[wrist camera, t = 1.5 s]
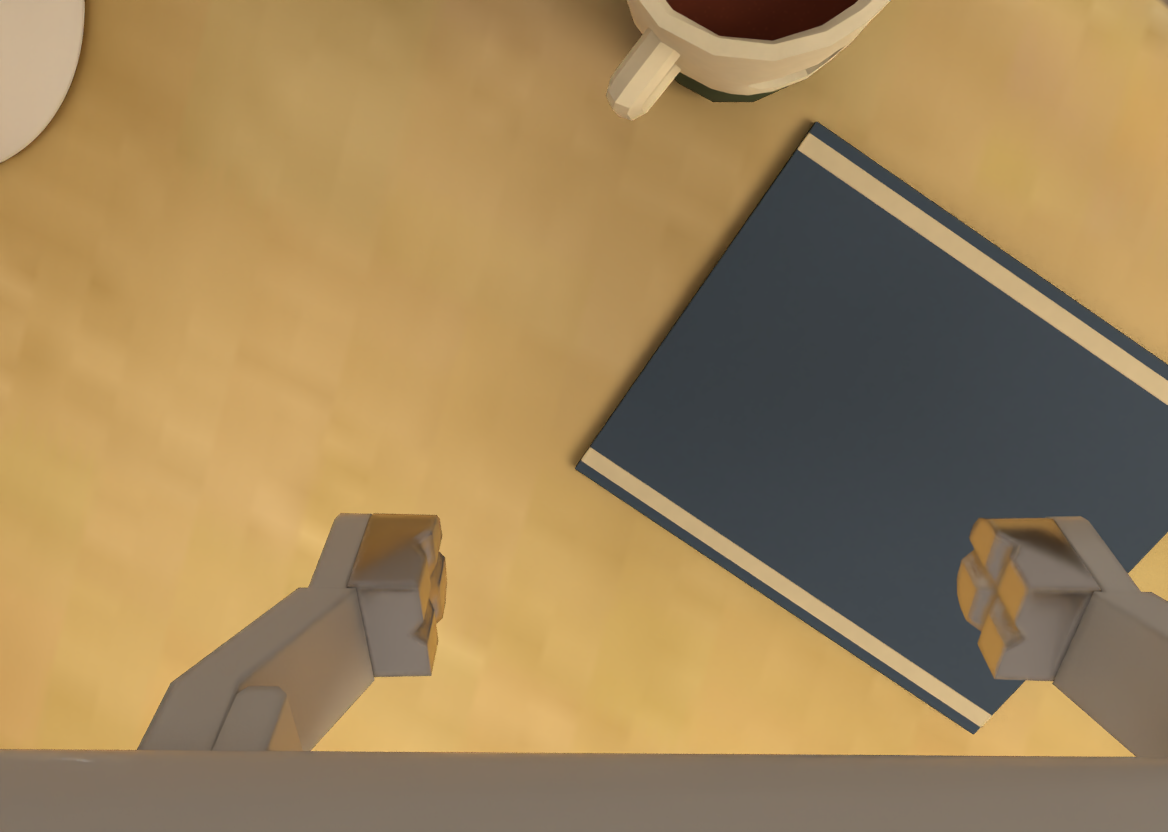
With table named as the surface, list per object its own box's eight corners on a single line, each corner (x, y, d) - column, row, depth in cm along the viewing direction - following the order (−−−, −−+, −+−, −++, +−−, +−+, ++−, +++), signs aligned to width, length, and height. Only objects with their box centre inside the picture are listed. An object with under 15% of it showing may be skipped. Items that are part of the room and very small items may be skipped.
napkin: (575, 466, 36) (574, 469, 35) (815, 121, 31) (816, 120, 31) (971, 730, 36) (974, 735, 36) (1259, 429, 32) (1265, 431, 32)
